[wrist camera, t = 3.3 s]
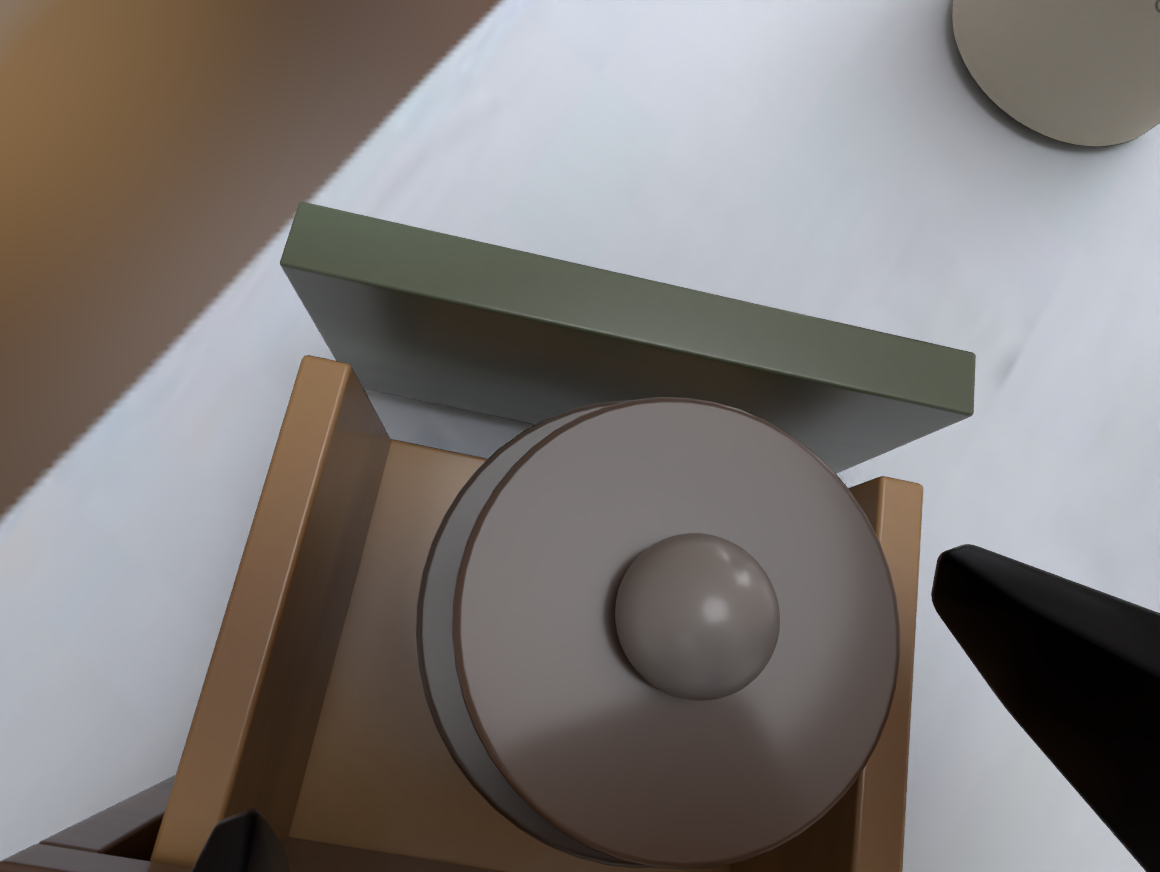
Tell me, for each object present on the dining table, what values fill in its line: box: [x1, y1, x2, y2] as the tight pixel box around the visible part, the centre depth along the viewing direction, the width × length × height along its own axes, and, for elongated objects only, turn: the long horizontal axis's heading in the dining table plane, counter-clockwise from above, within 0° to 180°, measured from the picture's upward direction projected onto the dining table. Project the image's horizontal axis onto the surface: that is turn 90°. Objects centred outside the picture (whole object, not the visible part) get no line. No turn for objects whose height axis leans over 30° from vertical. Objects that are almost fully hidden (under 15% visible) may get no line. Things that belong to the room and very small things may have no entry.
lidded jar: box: [416, 397, 900, 870], centre depth 10 cm, size 4×4×12 cm
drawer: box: [150, 202, 976, 872], centre depth 14 cm, size 13×12×6 cm
